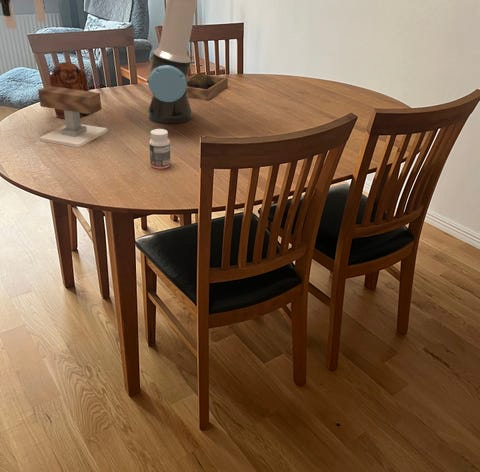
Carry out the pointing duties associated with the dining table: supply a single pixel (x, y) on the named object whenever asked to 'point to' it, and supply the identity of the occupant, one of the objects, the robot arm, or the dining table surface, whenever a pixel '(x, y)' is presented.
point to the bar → (70, 99)
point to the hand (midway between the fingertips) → (26, 25)
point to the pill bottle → (160, 149)
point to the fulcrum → (73, 132)
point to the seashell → (200, 81)
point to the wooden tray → (209, 93)
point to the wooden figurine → (68, 81)
